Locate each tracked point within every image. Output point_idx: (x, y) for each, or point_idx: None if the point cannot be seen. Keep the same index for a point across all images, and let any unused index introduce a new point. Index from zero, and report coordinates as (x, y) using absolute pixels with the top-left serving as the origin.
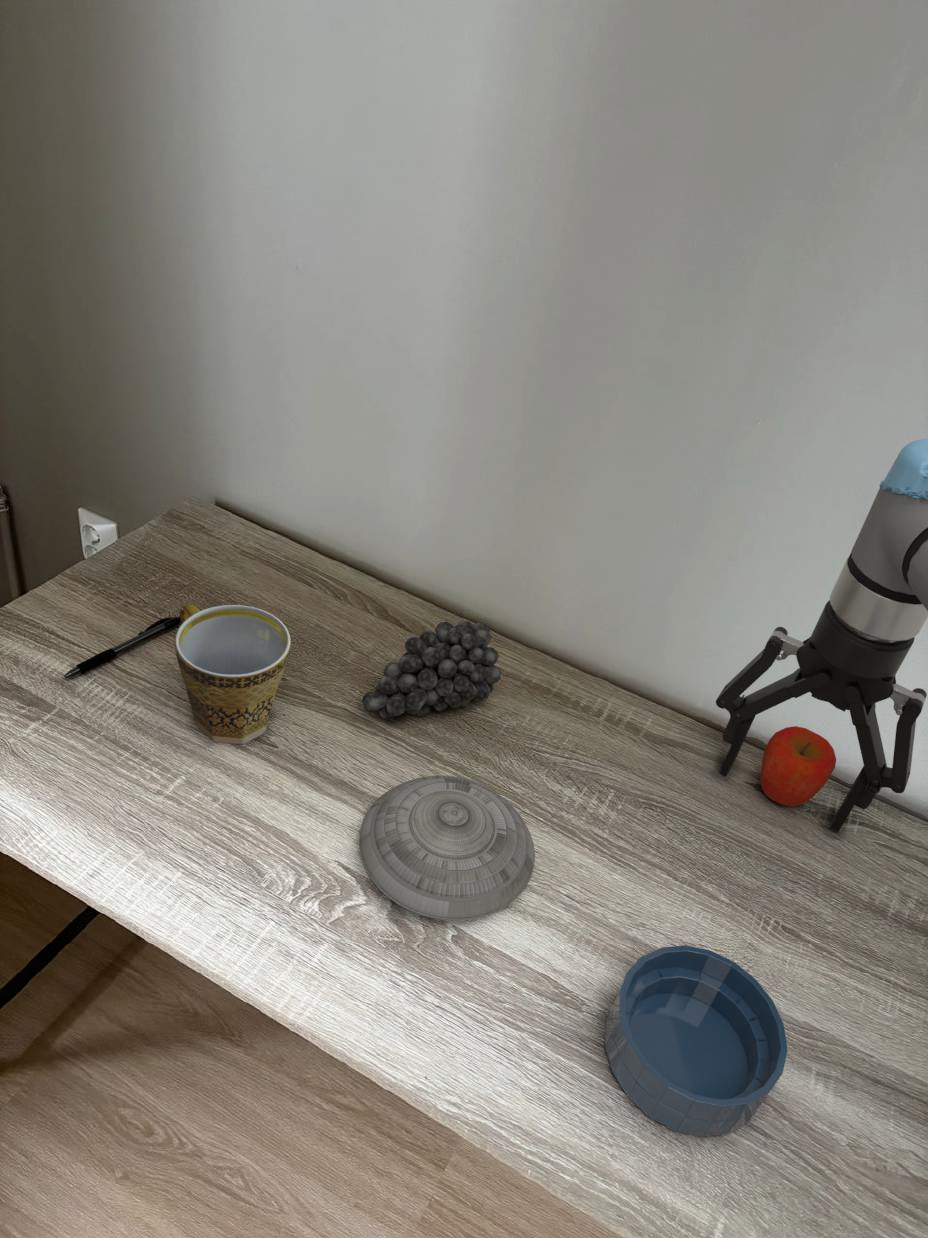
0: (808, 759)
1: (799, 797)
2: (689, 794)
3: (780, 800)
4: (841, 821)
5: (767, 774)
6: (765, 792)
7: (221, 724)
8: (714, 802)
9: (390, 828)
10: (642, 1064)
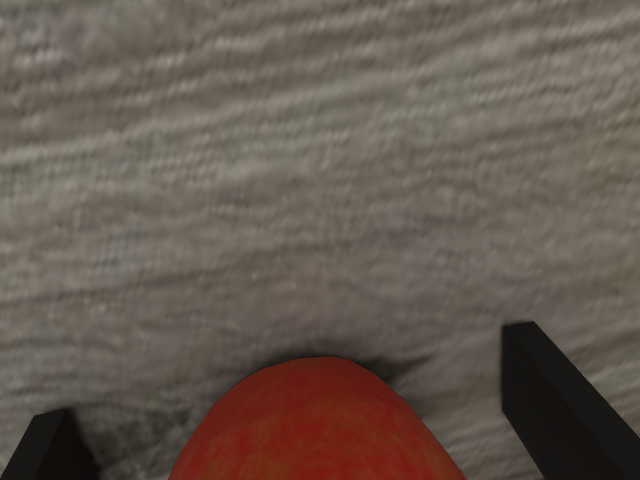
0: None
1: (208, 432)
2: (600, 128)
3: (279, 370)
4: (17, 464)
5: (407, 427)
6: (349, 363)
7: None
8: (492, 174)
9: None
10: None
